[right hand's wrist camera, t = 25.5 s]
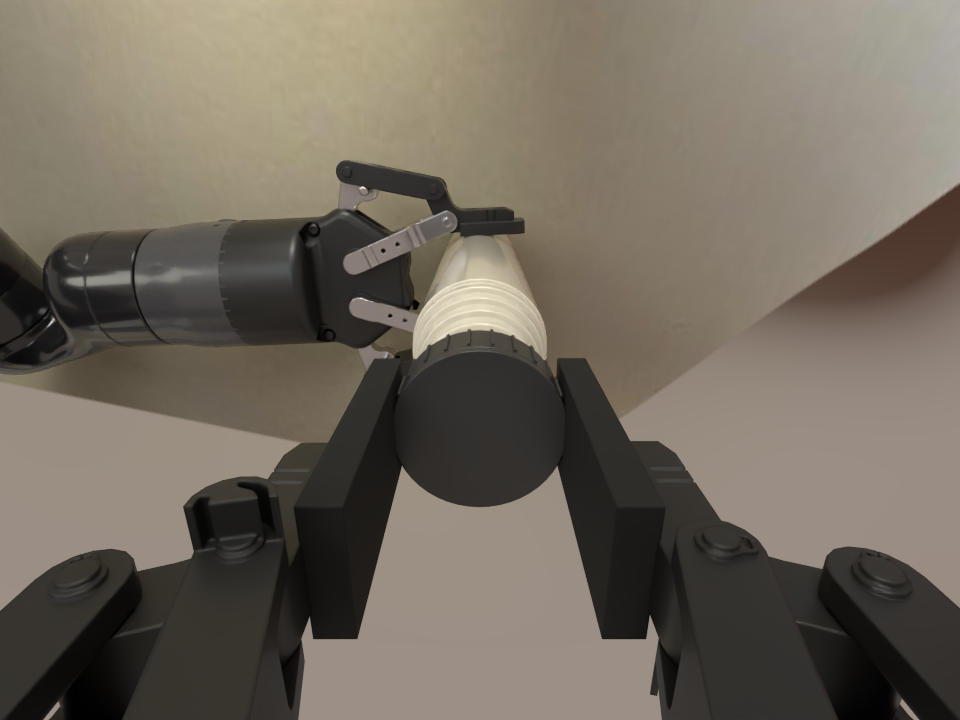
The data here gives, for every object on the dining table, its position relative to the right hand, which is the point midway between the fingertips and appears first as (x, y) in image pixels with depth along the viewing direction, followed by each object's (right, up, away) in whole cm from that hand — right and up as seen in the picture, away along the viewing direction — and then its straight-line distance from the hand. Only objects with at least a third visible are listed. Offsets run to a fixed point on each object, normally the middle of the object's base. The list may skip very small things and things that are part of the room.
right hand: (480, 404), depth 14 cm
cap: (0, 0, -1) cm, 1 cm away
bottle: (0, +9, +23) cm, 25 cm away
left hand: (+3, +7, +17) cm, 18 cm away
